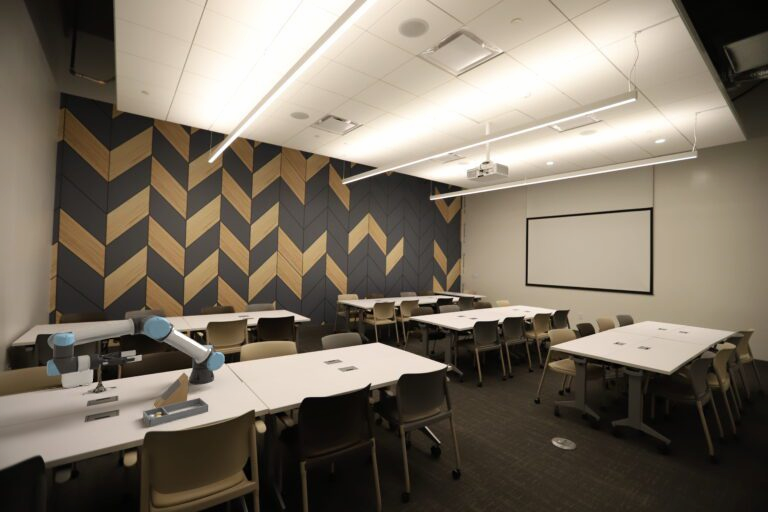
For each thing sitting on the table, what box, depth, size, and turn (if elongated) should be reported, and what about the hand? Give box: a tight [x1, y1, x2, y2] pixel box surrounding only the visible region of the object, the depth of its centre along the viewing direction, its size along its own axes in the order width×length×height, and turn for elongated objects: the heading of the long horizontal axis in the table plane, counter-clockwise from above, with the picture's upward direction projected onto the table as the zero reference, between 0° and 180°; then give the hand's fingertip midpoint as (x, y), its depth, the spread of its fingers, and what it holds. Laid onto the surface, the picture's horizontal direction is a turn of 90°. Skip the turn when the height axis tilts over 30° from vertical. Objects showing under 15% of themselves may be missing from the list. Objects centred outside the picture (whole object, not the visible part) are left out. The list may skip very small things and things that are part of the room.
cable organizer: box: [61, 369, 94, 389], centre depth 223 cm, size 15×11×12 cm
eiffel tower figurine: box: [82, 370, 117, 396], centre depth 214 cm, size 15×10×13 cm
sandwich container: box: [153, 372, 189, 408], centre depth 201 cm, size 9×15×15 cm, turn 133°
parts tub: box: [142, 397, 209, 428], centre depth 186 cm, size 27×13×4 cm, turn 136°
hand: (138, 355), depth 196 cm, fingers open, 13 cm apart
